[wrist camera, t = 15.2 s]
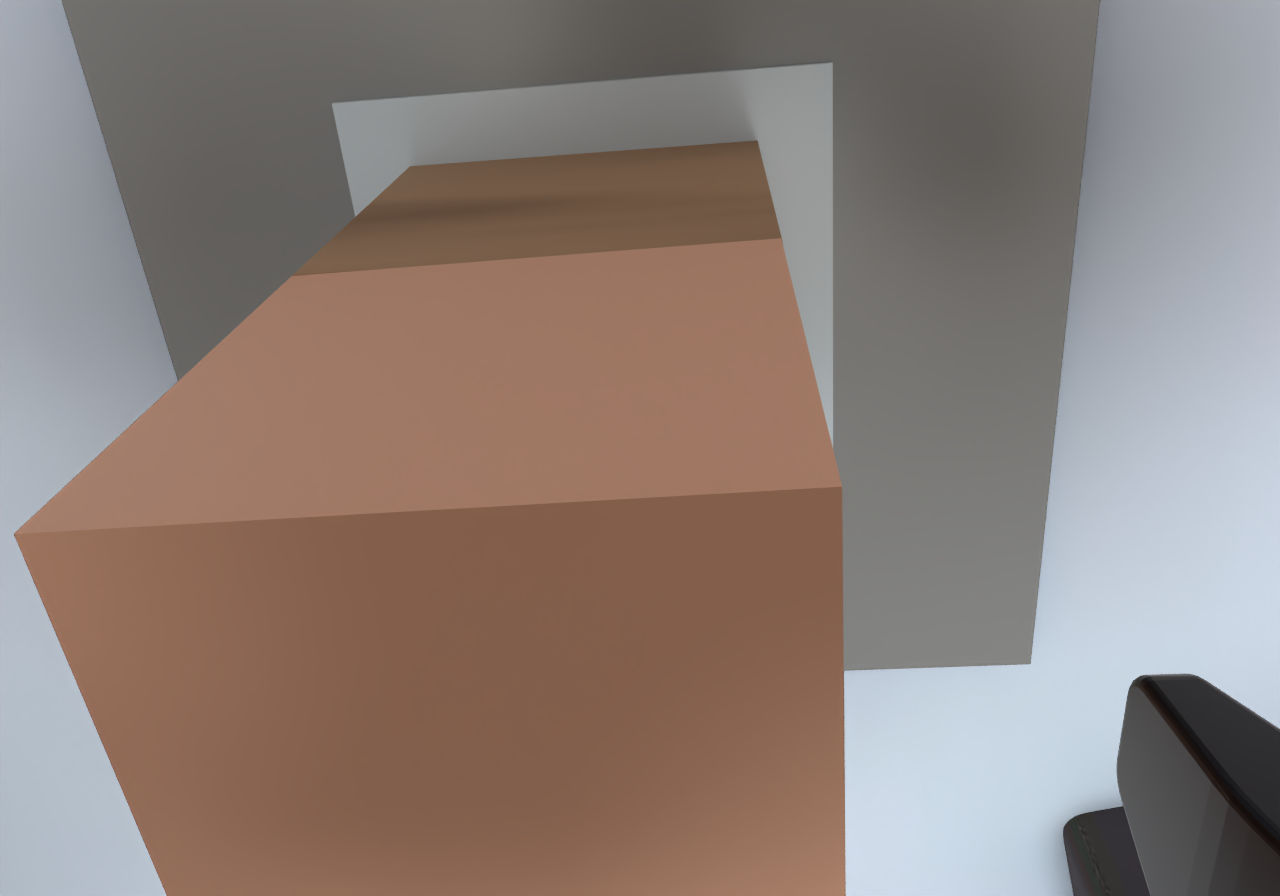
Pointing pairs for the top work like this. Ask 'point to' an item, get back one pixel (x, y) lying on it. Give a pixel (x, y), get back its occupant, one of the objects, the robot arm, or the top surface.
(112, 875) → the top surface
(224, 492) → the top block
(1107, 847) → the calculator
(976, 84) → the build plate
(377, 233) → the base block
